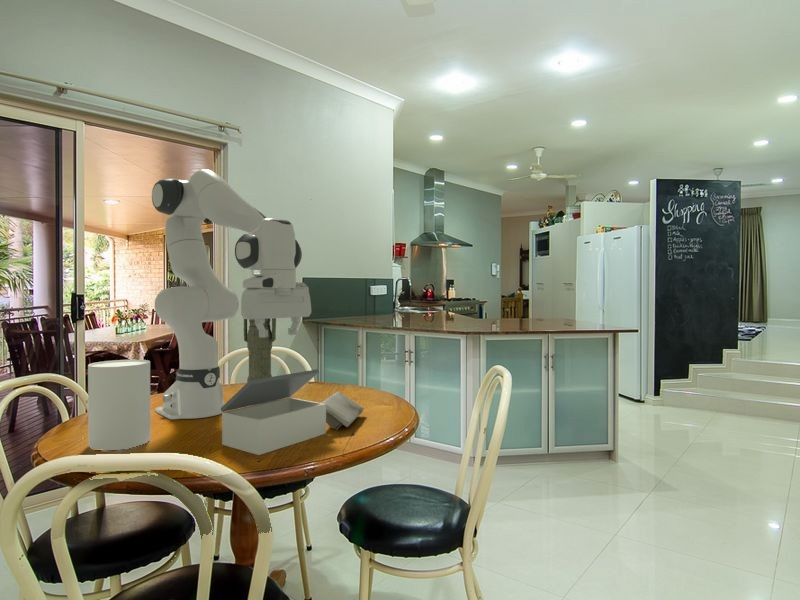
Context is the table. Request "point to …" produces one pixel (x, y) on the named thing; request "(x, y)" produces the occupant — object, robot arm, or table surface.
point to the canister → (118, 404)
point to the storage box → (273, 425)
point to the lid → (269, 389)
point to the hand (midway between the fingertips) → (278, 336)
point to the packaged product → (341, 410)
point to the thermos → (259, 349)
